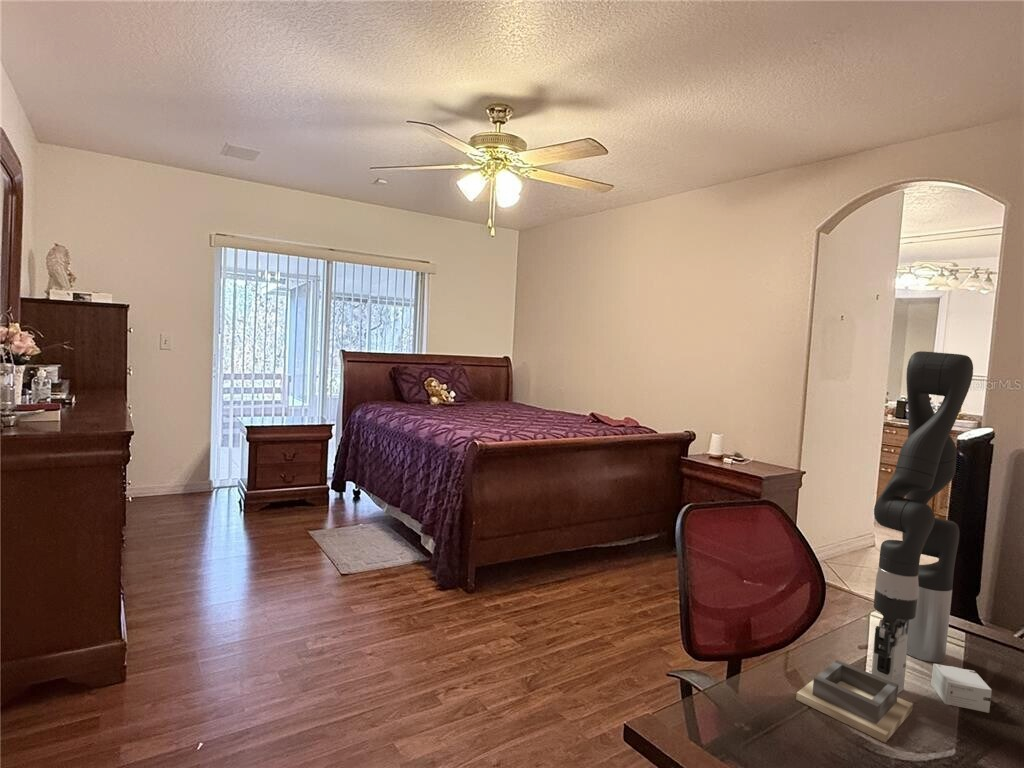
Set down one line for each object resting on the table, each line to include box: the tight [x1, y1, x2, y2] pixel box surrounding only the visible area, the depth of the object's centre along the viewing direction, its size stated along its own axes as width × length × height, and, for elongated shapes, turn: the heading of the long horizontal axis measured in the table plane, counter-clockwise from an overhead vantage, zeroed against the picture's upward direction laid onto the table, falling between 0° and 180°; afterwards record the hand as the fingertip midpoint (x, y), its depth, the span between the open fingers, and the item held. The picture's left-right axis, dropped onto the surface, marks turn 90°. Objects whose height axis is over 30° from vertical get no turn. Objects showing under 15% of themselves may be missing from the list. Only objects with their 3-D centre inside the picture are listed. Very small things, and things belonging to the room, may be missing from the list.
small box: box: [930, 663, 993, 714], centre depth 122 cm, size 8×8×5 cm
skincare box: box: [871, 634, 908, 694], centre depth 124 cm, size 6×4×12 cm
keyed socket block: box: [795, 659, 914, 743], centre depth 117 cm, size 16×16×5 cm
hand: (888, 667), depth 124 cm, fingers closed on skincare box, 6 cm apart
